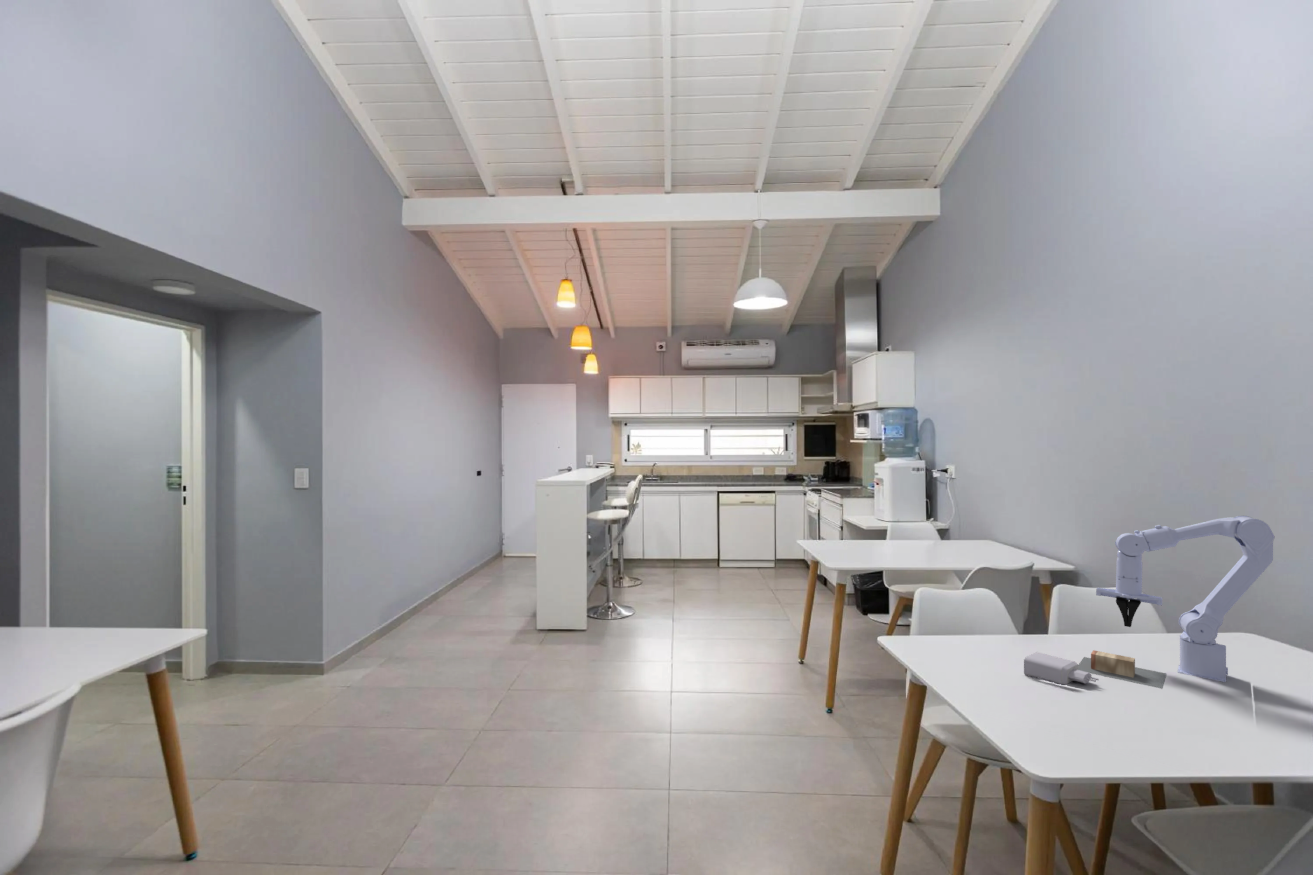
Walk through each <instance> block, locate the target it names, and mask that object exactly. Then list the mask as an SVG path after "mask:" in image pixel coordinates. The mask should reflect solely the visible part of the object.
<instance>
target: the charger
mask: <svg viewBox="0 0 1313 875" xmlns="http://www.w3.org/2000/svg"><path fill="white" fill-rule="evenodd" d="M1078 665H1079V663H1077V662H1076V661H1074V660H1071V659H1067V658H1063V657H1060V656H1059V657H1058V656H1055V655H1052V654H1047V653H1043V652H1039V651H1036V652H1033V653H1031V654H1029V655H1027V656H1025V658H1024V659H1023V674H1024V675H1026V676H1028V675H1029V677H1032V678H1035V677H1036V678H1035V679H1038V678H1040V679H1043V680H1047V681H1049V682H1050V683H1053V682H1054V684H1057V685H1060V684H1061V685H1060V686H1066V685H1068V684H1069V683H1071V682H1073V681H1074V682H1077V683H1081V684H1086V685H1087V684H1088V683H1089V682H1094V683H1096V682H1097V681H1099V678H1097V677H1093V676H1092V673H1088V672H1084V671H1080V670H1078Z"/></svg>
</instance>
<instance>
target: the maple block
mask: <svg viewBox="0 0 1313 875" xmlns="http://www.w3.org/2000/svg"><path fill="white" fill-rule="evenodd" d="M1090 658H1091V669H1095V670H1100V671H1104V672H1109V673H1114V674H1119V675H1123V676H1128V677H1134V675H1135V667H1136V658H1135V657H1131V656H1125V655H1120V654H1115V653H1110V652H1105V651H1099V650H1095V649H1094V650H1092V652H1090Z"/></svg>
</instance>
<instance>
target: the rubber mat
mask: <svg viewBox="0 0 1313 875" xmlns="http://www.w3.org/2000/svg"><path fill="white" fill-rule="evenodd" d="M1078 670H1080V671H1084V672H1088V673H1090V674H1091V675H1097V676H1103V677H1106V678H1111V679H1114V680H1120V681H1124V682H1130V683H1134V684H1140V685H1144V686H1148V687H1153V688H1158V689H1163V687H1164V684H1165V680H1166V677H1167V673H1166V672H1161V671H1156V670H1152V669H1146V668H1142V667H1136V666H1135V675H1134V677H1128V676H1123V675H1119V674H1114V673H1109V672H1104V671H1100V670H1095V669H1091V657H1086V656H1084V657H1083V658H1082V659H1081V660H1080V662H1079V663H1078Z"/></svg>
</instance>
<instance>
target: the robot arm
mask: <svg viewBox="0 0 1313 875" xmlns="http://www.w3.org/2000/svg"><path fill="white" fill-rule="evenodd" d="M1216 535H1217V536H1223V537H1228V538H1232V539H1235V541H1236V542H1237V543H1238V545H1239V548H1240V550H1241V553H1242V556H1241V557H1240V558H1239V560H1237V562H1236V563H1235V564H1234V565H1233V566H1232V568H1231V569H1230V570H1229V571H1228V572H1227V573H1226V574H1225V576H1224V577H1223V578H1221V581H1219V582H1218V584H1216V586H1215V587H1214V588H1213V590H1212V591H1210V593H1209V594H1208V595H1207V596H1206V597H1205V599H1203V601H1202V602H1200V603H1198V604H1196V605H1195V606H1194V607H1193V608H1192V609H1190V610H1189V611H1186V612H1183V613H1182V614H1180V616H1179V617H1178V625H1179V626H1180V628H1181V629H1182V630H1183V631H1182V633H1181V634H1180V635H1179V664H1178V667H1177V671H1176V672H1177V673H1178V674H1183V675H1188V676H1191V677H1198V678H1203V679H1206V680H1212V681H1217V682H1222V683H1227V676H1228V675H1229V667H1227V645H1225V644H1220V643H1217V641H1216V639H1217V637H1218V635H1219V634H1218V632H1219V629H1220V627H1221V626H1222V625H1223V622H1224V620H1225V619H1224V618H1225V616H1226V615H1227V613H1228V612H1229V611H1230V610H1231V609H1232V608H1233V606H1235V604H1236V603H1237V602H1238V601H1239V600H1240V598H1242V597H1243V595H1244V594H1245V593H1246V592H1247V591H1248V590H1249V589H1250V588H1251V587H1252V585H1253V584H1254V583H1255V582H1256V581H1258V579H1259V577H1261V575H1262V574H1263V573H1264V572H1265V571H1266V570H1267V569H1268V567H1269V566H1270V565H1271V564H1272V563H1273V561H1274V540H1275V535H1274V533H1273V531H1272V528H1271V527H1270V525H1269V524H1268V523H1267V522H1265V521H1264V520H1261V519H1259V518H1253V517H1251V516H1247V515H1236V516H1235V517H1232V516H1231V517H1230V516H1228V517H1221V518H1215V519H1211V520H1210V519H1209V520H1207V521H1203V522H1198V523H1195V524H1189V525H1186V526H1182V527H1177V528H1172V527H1170V526H1168V525H1163V526H1162V525H1161V524H1156V525H1154V528H1149V529H1145V530H1138V529H1136V530H1134V531H1133V533H1131V532H1125V533H1121V534H1120V535H1119V536H1117V538H1116V540H1115V541H1114V542H1115V543H1114V545H1115V547H1116V549H1118V550H1117V553H1116V557H1117V558H1116V572H1115V589H1113V588H1112V589H1111V588H1104V587H1096V589H1095V590H1096V592H1095V595H1096V596H1099V597H1102V596H1103V597H1108V598H1114V599H1115V602H1116V603H1115V604H1116V605H1117V608H1118V609H1119V611H1120V613H1121V618H1122V620H1123V625H1124V627H1126V628H1127V627H1129V628H1131V627H1132V624H1133V620H1134V616H1135V615H1136V612H1137V610H1138V609H1139V607H1140V606H1141V603H1146V604H1151V605H1157V606H1163V604H1164V603H1163V599H1164V597H1162V596H1156V595H1152V594H1151V595H1150V594H1147V593H1143V561H1142V558H1143V556H1142V555H1143V554H1144V552H1148V553H1149V552H1154V551H1159V550H1164V549H1169V548H1173V547H1174V548H1175V547H1176V546H1177V544H1179V542H1180V541H1186V540H1191V539H1197V538H1203V537H1208V536H1216Z"/></svg>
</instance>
